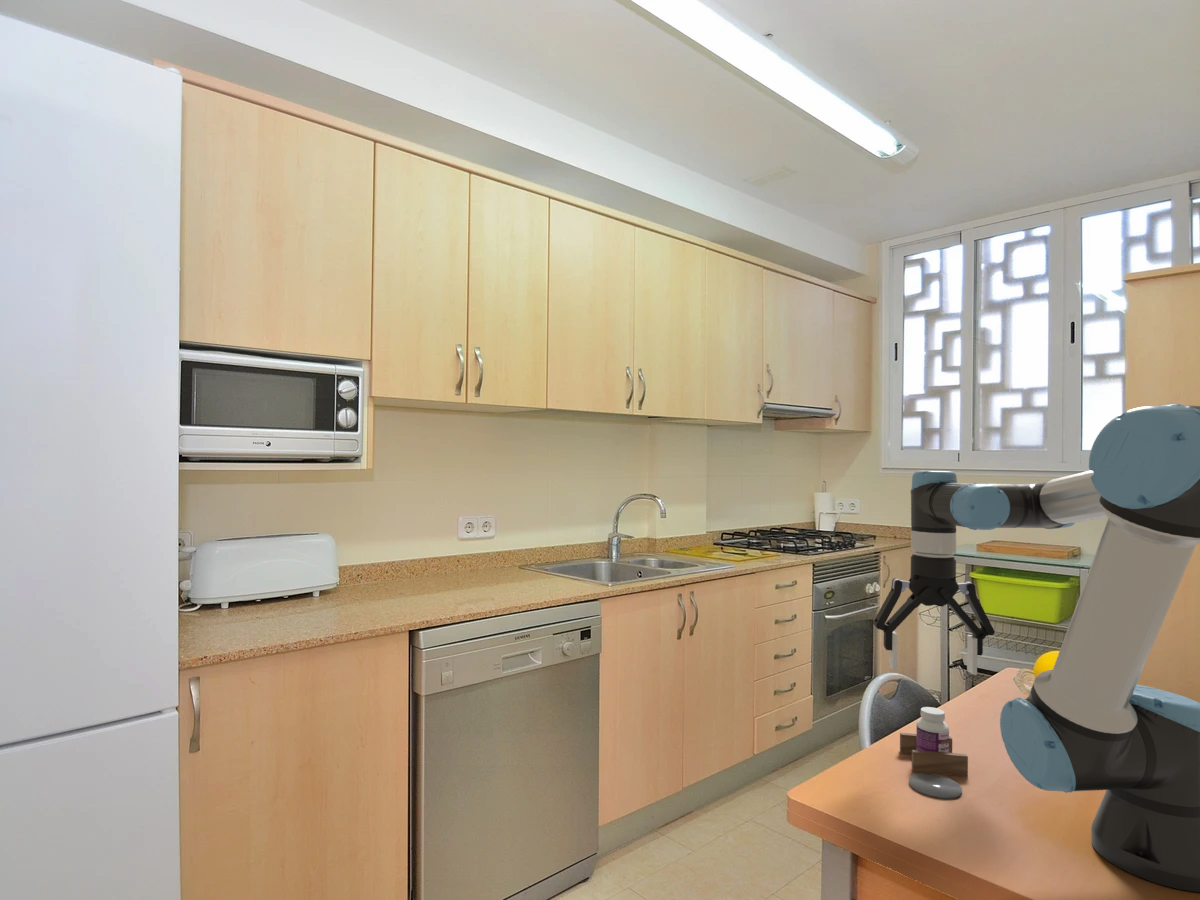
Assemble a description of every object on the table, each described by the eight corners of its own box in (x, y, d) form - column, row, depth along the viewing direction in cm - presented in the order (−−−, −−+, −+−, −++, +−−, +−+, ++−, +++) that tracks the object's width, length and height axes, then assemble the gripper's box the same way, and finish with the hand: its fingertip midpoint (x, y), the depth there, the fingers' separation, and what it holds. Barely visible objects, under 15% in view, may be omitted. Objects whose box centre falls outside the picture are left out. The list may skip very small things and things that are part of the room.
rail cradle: (967, 776, 120) (967, 756, 120) (913, 771, 122) (913, 752, 122) (950, 755, 129) (950, 736, 129) (899, 751, 130) (899, 732, 131)
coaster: (969, 800, 111) (969, 797, 111) (916, 796, 113) (916, 792, 113) (952, 778, 119) (952, 775, 119) (903, 774, 120) (903, 771, 120)
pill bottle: (945, 772, 122) (945, 718, 122) (913, 764, 125) (913, 711, 125) (951, 762, 126) (951, 709, 126) (920, 754, 129) (920, 703, 129)
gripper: (998, 554, 128) (997, 668, 127) (857, 549, 132) (856, 659, 132) (1015, 560, 120) (1014, 681, 120) (866, 554, 125) (865, 671, 124)
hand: (932, 670), depth 126 cm, fingers open, 13 cm apart
